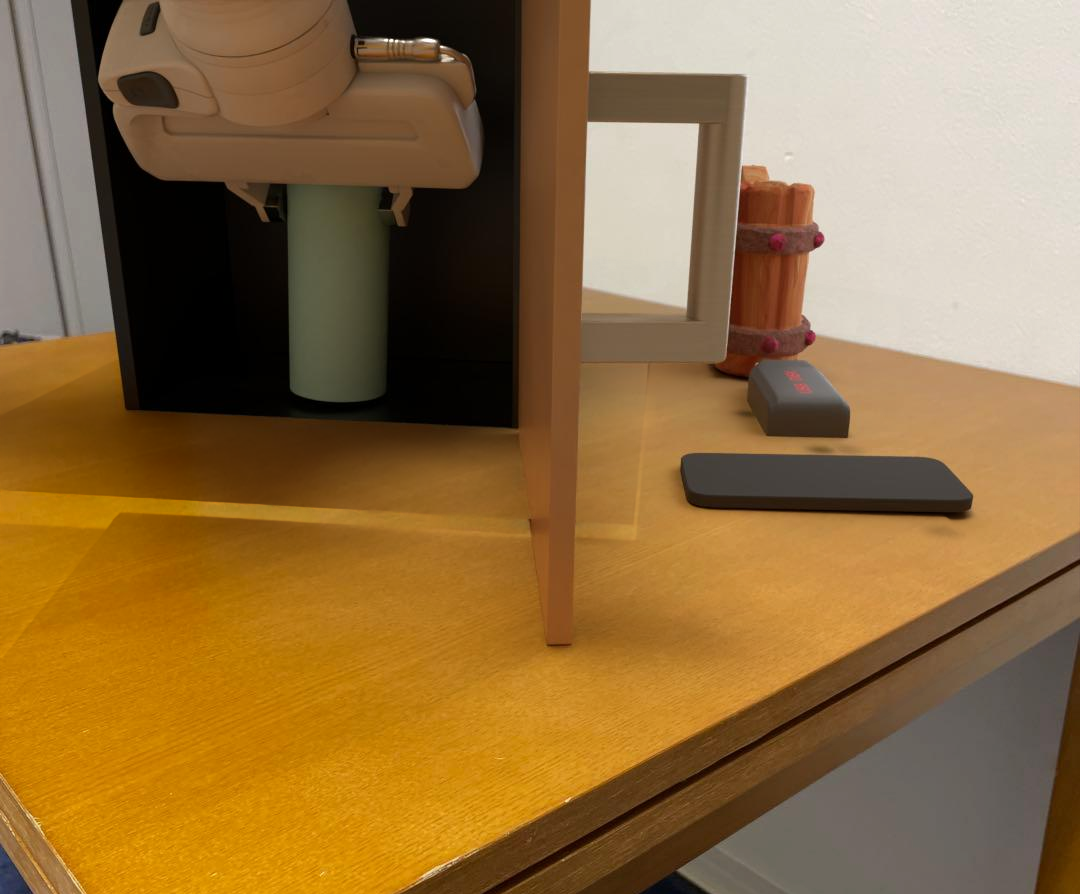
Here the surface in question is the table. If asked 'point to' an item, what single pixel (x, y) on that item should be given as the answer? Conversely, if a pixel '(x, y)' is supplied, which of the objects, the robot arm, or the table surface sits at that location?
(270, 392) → the box
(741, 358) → the mug
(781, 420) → the grey rounded block
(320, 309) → the bottle
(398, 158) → the robot arm
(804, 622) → the table surface
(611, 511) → the table surface
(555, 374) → the fridge door
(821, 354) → the table surface
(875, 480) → the phone
